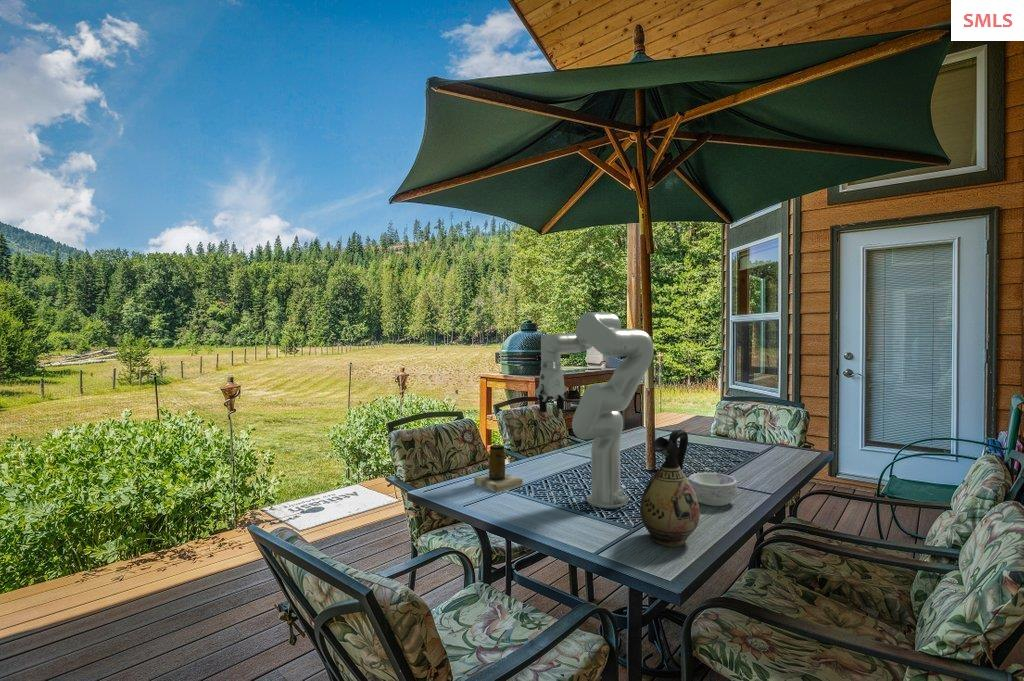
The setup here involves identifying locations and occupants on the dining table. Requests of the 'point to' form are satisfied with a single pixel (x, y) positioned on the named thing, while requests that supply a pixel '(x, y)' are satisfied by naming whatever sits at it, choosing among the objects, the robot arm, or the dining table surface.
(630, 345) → the robot arm
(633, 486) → the dining table surface
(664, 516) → the ceramic jug
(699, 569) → the dining table surface
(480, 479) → the board
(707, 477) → the white marble bowl
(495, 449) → the condiment
